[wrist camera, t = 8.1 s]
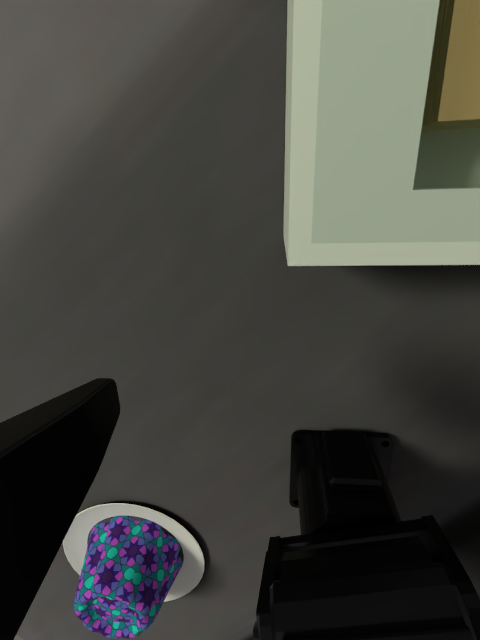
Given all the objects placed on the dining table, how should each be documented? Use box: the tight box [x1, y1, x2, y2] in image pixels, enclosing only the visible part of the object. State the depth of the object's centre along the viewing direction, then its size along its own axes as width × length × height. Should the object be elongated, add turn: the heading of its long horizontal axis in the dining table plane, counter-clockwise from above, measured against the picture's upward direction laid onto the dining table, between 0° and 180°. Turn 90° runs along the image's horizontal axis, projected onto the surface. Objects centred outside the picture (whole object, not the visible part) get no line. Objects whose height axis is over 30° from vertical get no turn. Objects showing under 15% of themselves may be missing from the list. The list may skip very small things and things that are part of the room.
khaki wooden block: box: [421, 0, 480, 131], centre depth 14 cm, size 4×3×4 cm
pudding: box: [63, 503, 205, 639], centre depth 28 cm, size 12×12×5 cm
